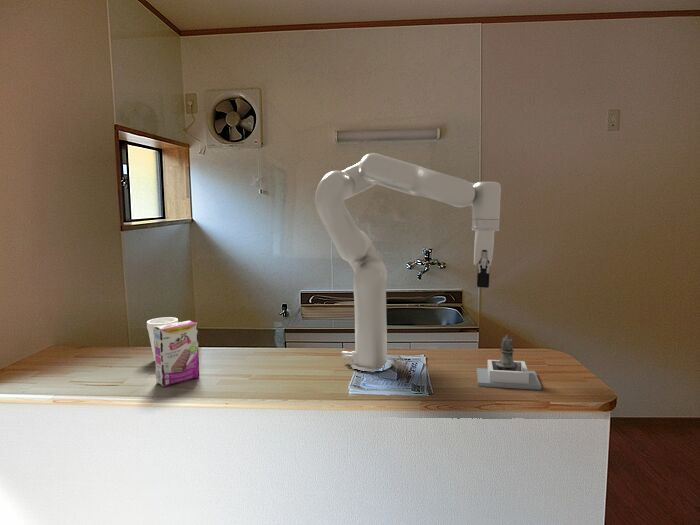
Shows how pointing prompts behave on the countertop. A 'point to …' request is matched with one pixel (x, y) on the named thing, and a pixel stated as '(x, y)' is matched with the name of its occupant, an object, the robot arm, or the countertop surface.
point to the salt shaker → (507, 356)
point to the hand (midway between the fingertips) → (482, 284)
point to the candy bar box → (176, 352)
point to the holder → (508, 377)
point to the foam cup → (158, 322)
